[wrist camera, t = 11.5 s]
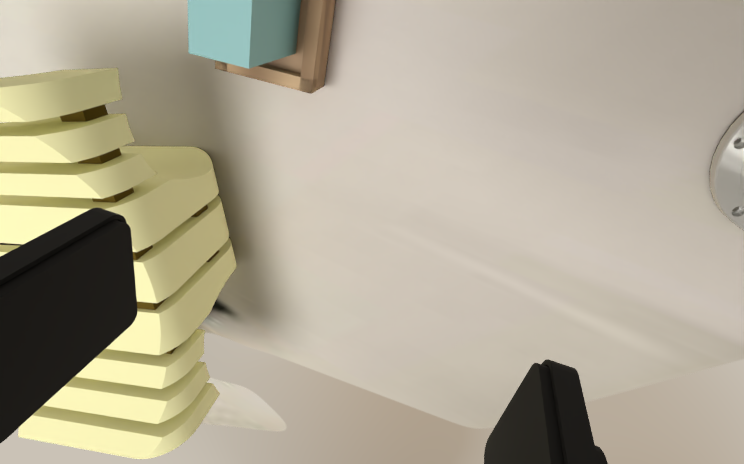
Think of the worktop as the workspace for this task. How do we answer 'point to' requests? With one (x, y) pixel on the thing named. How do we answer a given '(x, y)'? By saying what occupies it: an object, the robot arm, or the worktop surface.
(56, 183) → the slatted curved stool
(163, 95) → the worktop surface
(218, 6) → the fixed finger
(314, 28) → the divided wooden tray
